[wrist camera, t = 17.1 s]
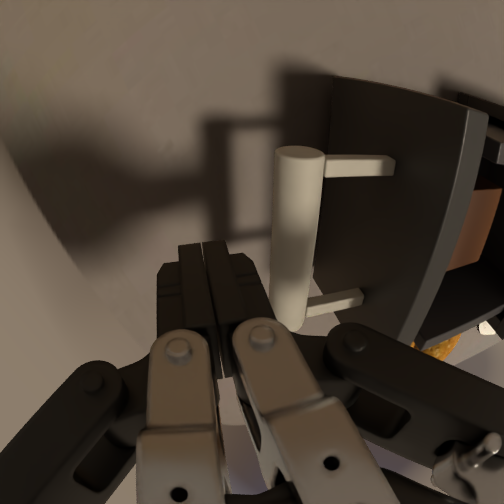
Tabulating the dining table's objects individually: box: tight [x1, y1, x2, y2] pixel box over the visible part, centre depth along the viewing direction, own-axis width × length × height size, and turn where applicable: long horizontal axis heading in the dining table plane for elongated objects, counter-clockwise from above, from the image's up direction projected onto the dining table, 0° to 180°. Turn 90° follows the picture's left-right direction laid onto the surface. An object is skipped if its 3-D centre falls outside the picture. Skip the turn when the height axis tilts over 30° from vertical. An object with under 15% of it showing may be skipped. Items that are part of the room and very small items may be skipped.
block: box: [446, 174, 502, 271], centre depth 14 cm, size 4×4×4 cm
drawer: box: [269, 76, 504, 351], centre depth 13 cm, size 18×12×8 cm, turn 90°
